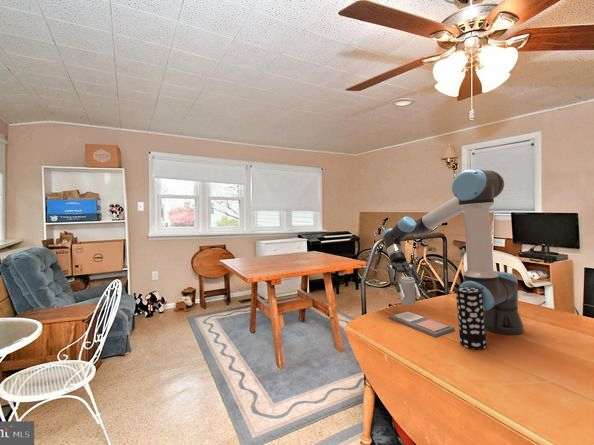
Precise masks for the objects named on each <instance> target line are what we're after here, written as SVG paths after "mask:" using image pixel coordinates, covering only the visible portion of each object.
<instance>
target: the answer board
mask: <svg viewBox="0 0 594 445" xmlns="http://www.w3.org/2000/svg"><path fill="white" fill-rule="evenodd" d="M388 318H389V320H392V321H394V322H397V323H400V324H402V325H404V326H407V327H409V328H410V329H411V328H412V329H415V330H417V331H420V332H421V333H424V334H426V335H428V336H431V337H433V338H438V337H440V336H443V335H446V334H449V333H453V332H455V331H456V330H455V329H456V328H455V327H454V326H452V325H450V324H445V323H444V322H441V321H438V320H435V319H431V318H429V317H426V316H423V315H420V314H417V313H414V312H411V311H409V310H406V311H402V312H399V313H395V314H391V315H389V317H388Z"/></svg>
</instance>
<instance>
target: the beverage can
mask: <svg viewBox="0 0 594 445" xmlns="http://www.w3.org/2000/svg"><path fill="white" fill-rule="evenodd" d="M399 284H401V286H402V290H403V293H404V296H405V297H404V299H403V300H401V296H400V295H399V297H400V298H399V300H400V303H401V304H402V305H404V306H407V307H408V306H411V307H412V306H414V305H416V295H415V281H414V278H412V277H407V276H401V277H400V278H399Z"/></svg>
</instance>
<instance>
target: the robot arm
mask: <svg viewBox="0 0 594 445" xmlns="http://www.w3.org/2000/svg"><path fill="white" fill-rule="evenodd" d="M504 187H505V180H504V178H503V177H502V175H501V174H499V173H498V172H496V171H493V170H485V169H477V168H475V169H467V170H463V171H461V172H460V173H458V174H457V175H456V177H454V179H453V182H452V184H451V191H452V194H453V196H454V197H453V198H451V199H449V200H448V201H446V202H445V203H443V204H441V205H439V206H438V207H436V208H435V209H433V210H432V211H430V212H428V213H426V214H425V215H423V216H421V217H419V218H418V219H413V218H412V217H409V216H403V217H402V218H401V219H400V220H399V221H398V222H397V223H396V224H395V225H394V227H392V228H387V229H386V230H383V232H382V239H383V240H382V241H383V243H384V245H385V248H386V251H387V255H388V258H389V262H390V264H387V266H386V268H385V269H386V272H387V274H388V278H389V283H390V286H393V287H394V288H395V290H396V292H397V293H399V297H400V296H401V300H403V299H404V297H405V296H404V293H403V290H402V286H401V284H400V273H404V275H406V277H412V278H414V281H415V299H417V300H419V299H420V298H421V294H420V286H419V285H420V284H421V282H422V279H421V277H420V276H419V273H418V271H417V269H416V264H415V263H413V264H409V262H408V260H407V257H406V254H405V251H404V249H403V247H402V243H401V242H402V241H403V240H405V239H406V237H408V236H417V235H426V234H429V233H430V232H431V231H432V230H433V229H434V228H436V227H437V226H440V225H442V224H443V223H446V222H447V221H449V220H451V219H452V218H454V217H456V216H458V215H460V214H462V213H463V220H464V235H465V236H464V238H465V250H466V252H465V253H466V254H465V255H466V268H467V269H466V270H465V271H464V272H463V274H462V275H463V276H462V277H463V282H461V284H460V285H459V287H475V288H479V289H481V290H482V296H483V308H484V319H485V331H490V332H493V333H496V334H502V335H520V334H523V333H524V330H525V329H524V328H525V325H524V323H523V321H522V318H521V315H520V312H519V305H518V304H519V302H518V300H519V294H518V293H519V290H518V288H519V287H518V285H519V282H518V276H517V275H515V274H514V273H510V272H504V271H496V270H494V258H493V256H494V255H493V242H492V227H491V213H490V212H491V211H490V208H491V207H492V206H493V205H494V204H495V200H494V199H495V198H497V197H498V196H500V195H501V194H502V192H503V191H504ZM394 238H395V239H394ZM392 269H393V270H394V271H395V273H394V274H395V275H394V274H393V270H392ZM410 270H411V271H410ZM394 276H395V277H394Z"/></svg>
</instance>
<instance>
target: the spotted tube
mask: <svg viewBox="0 0 594 445" xmlns="http://www.w3.org/2000/svg"><path fill="white" fill-rule="evenodd" d="M455 296H456V298H455V299H456V300H455V301H456V308H457V309H456V311H457V320H458V321H457V322H458V333H459V343H460V345H461V346H463V347H465V348H467V349H471V350H482V349H483V350H484V349H485V348H487V346H488V345H487V332H486V331H487V330H486V329H485V319H484V308H483V296H482V290H481V289H479V288H475V287H460V286H459V287H456V288H455Z"/></svg>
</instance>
